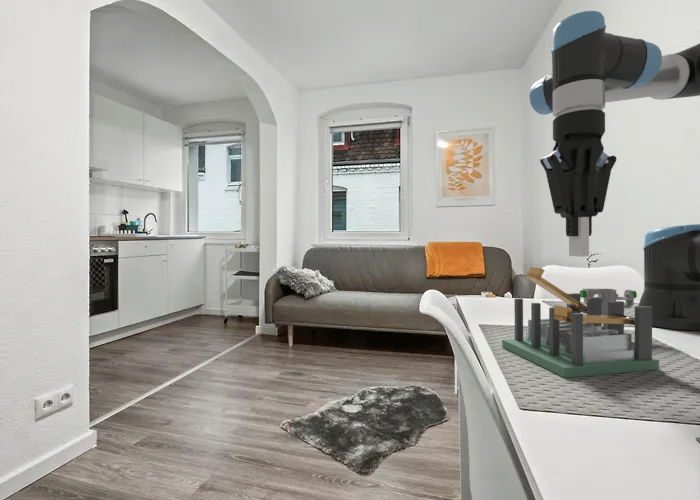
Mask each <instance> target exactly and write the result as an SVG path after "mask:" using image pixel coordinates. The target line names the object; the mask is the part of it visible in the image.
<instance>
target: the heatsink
mask: <svg viewBox="0 0 700 500" xmlns="http://www.w3.org/2000/svg"><path fill="white" fill-rule="evenodd" d="M525 338H526V340H529V341H531V342H532V333H531V319H528V320H527V331H526V332H525ZM541 346H543V347H546V348H548V349H549V318H541ZM559 353H560V354H563V355H565V356H568V357H570V358H572V322H564V321H561V320H559ZM625 360H635V349H632V334H631V333H630V332H624V333H619V334H618V330H615V329H611V330H605V327H603V325H602V326H594V324H592V323H583V363H585V364H588V363H601V362H613V361H625Z"/></svg>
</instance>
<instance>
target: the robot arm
mask: <svg viewBox="0 0 700 500" xmlns="http://www.w3.org/2000/svg"><path fill="white" fill-rule="evenodd" d="M606 29H607V26H606V23H605V16H604V15H603V13H601V12H600V11H596V10H585V11H579V12H577V13H573V14H571V15H569V16H566V18H564V19H562V20H561V21H559V22H558V23H557V24H556V25H555V27H554V28H553V33H552V39H551V42H552V44H551V51H550V53H551V64H552V67H551V68H552V71H551V73H550V74H546V75H544V77H542V78H540V79H539V80H537V81H536V82H535V83H534V84H532V85H531V88H530V90H529V93H528V94H529V104H530V105H531V107H532V109H533V111H534V112H536V113H537V114H539V115H542V116H545V115H549V114H552V115H553V116H554V119H553V120H552V140H553V141H554V142H555V143H554V146H553V148H552V152H551V153H549V154H547V155H546V156H543V157H541V158H540V159H539V160H540V161H539V162H540V165H541V166H542V167H543V169H544V171H545V174H546V179H547V180H546V181H547V183H548V188H549V193H550V197H551V203H552V207H553V210H554V213H555V214H557V215H558V214H559V215H560V217H561V218H562V219H565V234H566V237H568V257H580V258H581V257H582V258H583V257H590V237H591V236H592V232H593V231H592V230H593V229H592V227H593V226H592V225H593V221H592V220H593V217H596V216H598V214H600V213H602V212H603V211H604V208H605V207H604V206H605V202H606V198H607V193H608V188H609V184H610V178H611V173H612V169H613V167H614V166H615V164H616V162H617V156H615V155H608V154H607V153H605V152H604V150H605V149H604V145H603V142H602V138H603V136H604V135H605V133H606V113H605V112H604V111H603V110H604V109H605V108H606V103H612V102H620V101H627V100H628V101H629V100H635V99H643V98H651V99H654V100H659V101H662V100H669V99H670V100H671V99H681V98H691V97H700V42H699V43H698V44H697V43H696V44H695V45H692V46H690V47H688V48H686V49H684V50H681V51H679V52H675V53H671V54H665V55H662V54H663V53H662V51H661V48H660V47H659V46H658V45H656V44H655V43H653V42H648V41H646V40H644V39H642V38H635V37H629V36H628V37H627V36H622V35H617V34H613V33H609V32H606ZM642 250H643V252H644V253H643V257H644V258H643V261H644V262H643V264H644V265H643V266H644V267H643V271H644V272H643V279H644V280H643V281H644V283H643V284H644V285H643V286H644V287H643V292H642V294H641V297H640V300H639V303H638V306H650V307H652V327H656V328H657V327H658V328H663V329H671V330H682V331H697V332H698V331H700V223H695V224H693V223H692V224H685V225H683V224H682V225H674V226H667V227H661V228H660V227H659V228H656V229H655V228H654V229H651V230H649V231H648V232H646V234H645V237H644V245H643V249H642Z"/></svg>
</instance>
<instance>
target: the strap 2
mask: <svg viewBox="0 0 700 500" xmlns="http://www.w3.org/2000/svg"><path fill="white" fill-rule="evenodd" d="M553 307H554V319H557V320H561V321H564V322H572V308H568V307H567V306H563V305H557V304H554V306H553ZM583 323H602V324H603V323H607V324H624V325H633V326H635V316H628V315H625V314H624V315H618V316H607V315H587V314H583Z"/></svg>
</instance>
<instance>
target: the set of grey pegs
mask: <svg viewBox="0 0 700 500" xmlns="http://www.w3.org/2000/svg"><path fill="white" fill-rule="evenodd" d="M567 294H568V295H570V296H571V297H573V298H574V299H576V300H577V301H579V302H580V303H581V297H580V292H577V293H572V292H571V293H567ZM624 303H625V301H624V300H616V301H610V302H608V316H618V315H625V308H624ZM541 305H542V304H541V302H540V303H539V302H531V307H530V309H531V315H530V316H531V319H530V320H531V333H532V347H533V348H541V319H542V318H541V316H542V313H541V312H542V311H541V307H542V306H541ZM586 306H587V313H586V315H602V298H601V297H598V296H594V297H588V298H587V305H586ZM566 307H568V308H572V364H573V365H575V366H581V365H583V315H584V314H583V313H582V312H578V311H575V310H574V308H573V307H571V306H570V305H568V304H567V303H566ZM548 312H549V313H548V314H549V315H548V319H549V354H550V355H552V356H559V320H557V319H554V306H553V307H548ZM634 318H635V325H634V350H635V359H636V360H651V359H652V358H653V326H652V307H650V306H639V305H638V306H634ZM592 324H594V326H603V323H592ZM611 329H615V330H618V334H619V333H625V332H624V331H625V324H608V330H611ZM523 338H524V299H523V298H514V339H515V340H517V341H520V340H523Z"/></svg>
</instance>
